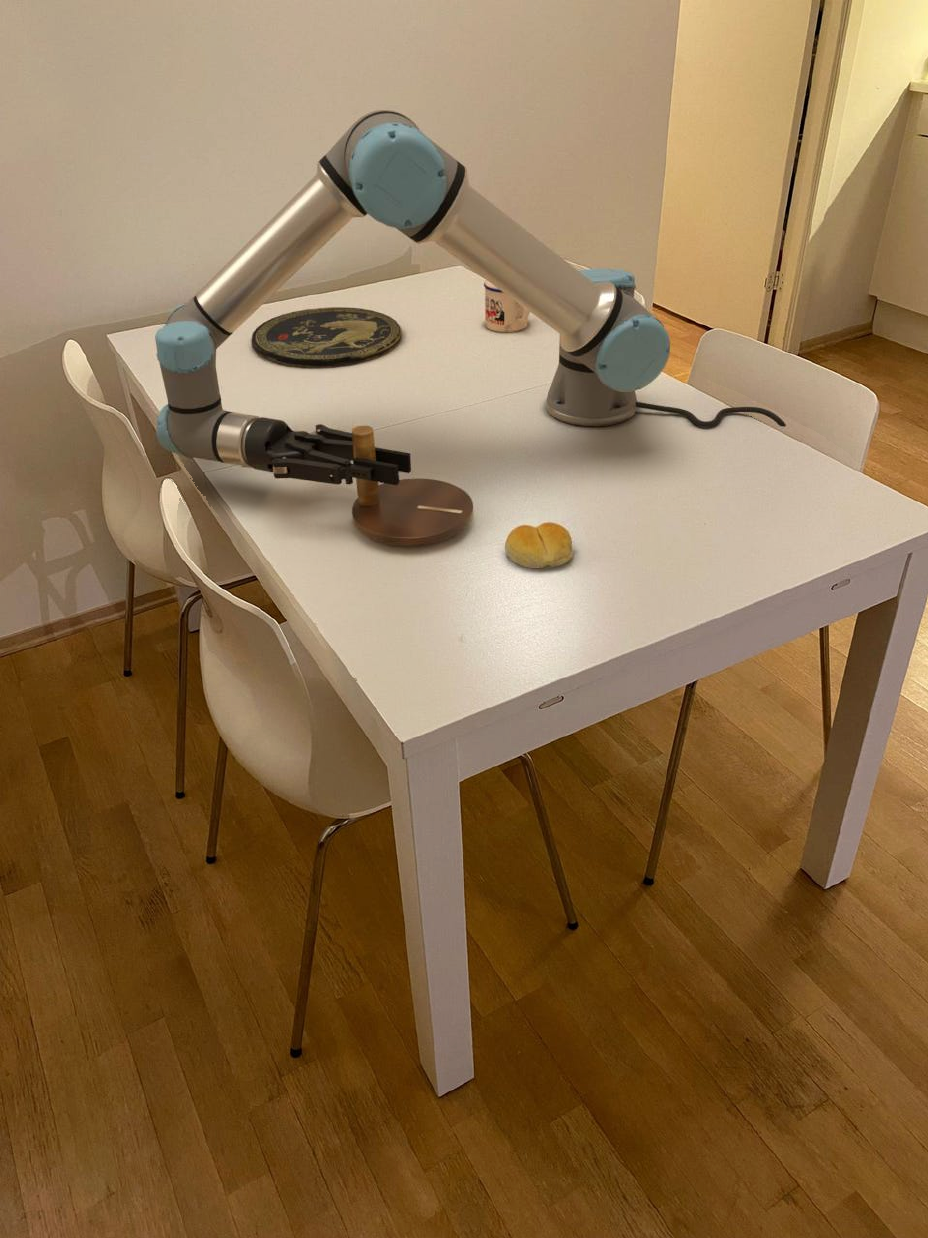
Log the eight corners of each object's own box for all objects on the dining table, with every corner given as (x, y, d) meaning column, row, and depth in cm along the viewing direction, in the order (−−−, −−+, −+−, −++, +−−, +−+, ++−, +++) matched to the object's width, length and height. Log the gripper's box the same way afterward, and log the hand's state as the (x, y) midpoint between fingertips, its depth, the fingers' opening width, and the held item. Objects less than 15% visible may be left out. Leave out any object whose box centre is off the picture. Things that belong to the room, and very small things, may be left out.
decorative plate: (227, 354, 192) (280, 302, 216) (228, 363, 193) (281, 311, 217) (379, 364, 187) (416, 309, 211) (379, 373, 188) (417, 318, 212)
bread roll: (501, 541, 138) (501, 516, 135) (565, 536, 138) (566, 510, 136) (510, 574, 131) (510, 547, 129) (578, 568, 132) (579, 542, 129)
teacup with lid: (475, 323, 208) (474, 266, 201) (511, 314, 212) (511, 258, 205) (509, 340, 200) (510, 281, 193) (546, 330, 204) (547, 272, 197)
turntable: (486, 492, 146) (485, 414, 139) (454, 552, 133) (451, 469, 126) (376, 480, 150) (369, 403, 143) (334, 537, 137) (325, 456, 130)
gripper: (289, 443, 153) (429, 468, 145) (229, 491, 141) (378, 521, 133) (282, 397, 149) (427, 420, 141) (220, 442, 137) (374, 470, 129)
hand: (403, 469), depth 137 cm, fingers closed on turntable, 3 cm apart
